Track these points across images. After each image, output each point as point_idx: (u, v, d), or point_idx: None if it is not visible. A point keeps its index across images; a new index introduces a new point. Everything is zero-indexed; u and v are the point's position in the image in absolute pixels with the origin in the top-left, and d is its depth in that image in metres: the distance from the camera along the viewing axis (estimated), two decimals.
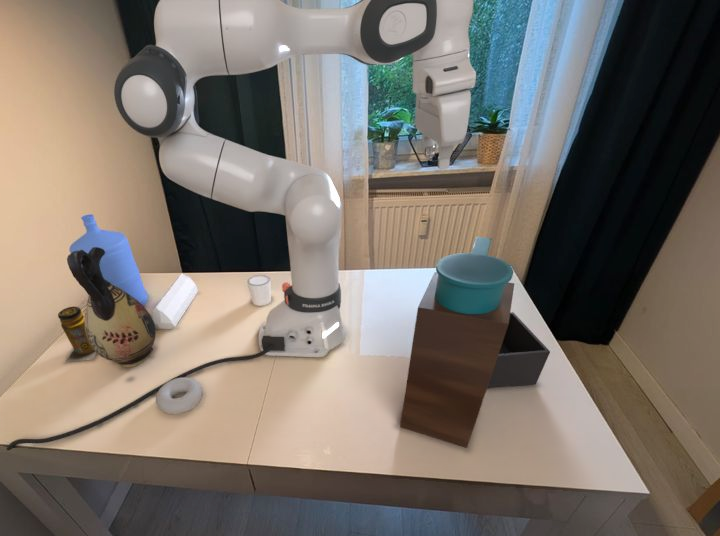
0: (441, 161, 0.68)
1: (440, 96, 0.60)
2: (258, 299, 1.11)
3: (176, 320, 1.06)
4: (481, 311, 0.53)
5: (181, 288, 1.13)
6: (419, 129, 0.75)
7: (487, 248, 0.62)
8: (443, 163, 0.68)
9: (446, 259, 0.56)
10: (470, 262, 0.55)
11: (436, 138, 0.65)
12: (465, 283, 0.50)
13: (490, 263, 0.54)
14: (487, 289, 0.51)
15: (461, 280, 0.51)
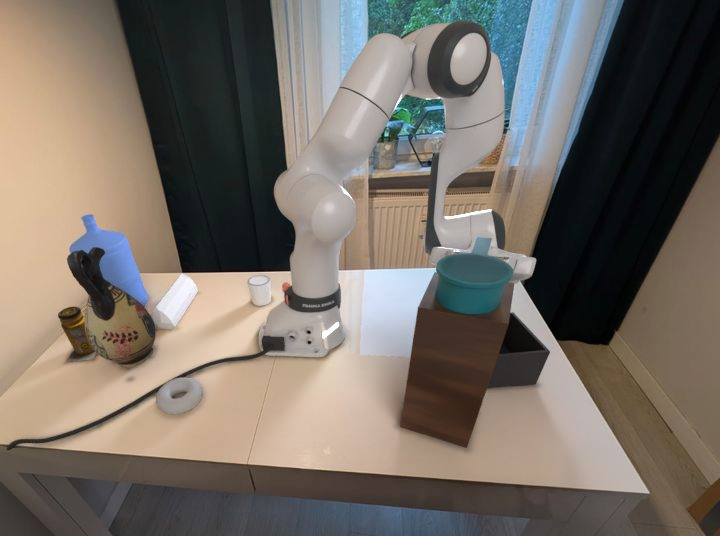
0: (511, 259, 0.74)
1: None
2: (258, 299, 1.11)
3: (176, 320, 1.06)
4: (481, 311, 0.53)
5: (181, 288, 1.13)
6: (452, 248, 0.81)
7: (487, 248, 0.62)
8: (510, 261, 0.73)
9: (446, 259, 0.56)
10: (470, 262, 0.55)
11: (514, 255, 0.77)
12: (465, 283, 0.50)
13: (490, 263, 0.54)
14: (487, 289, 0.51)
15: (461, 280, 0.51)
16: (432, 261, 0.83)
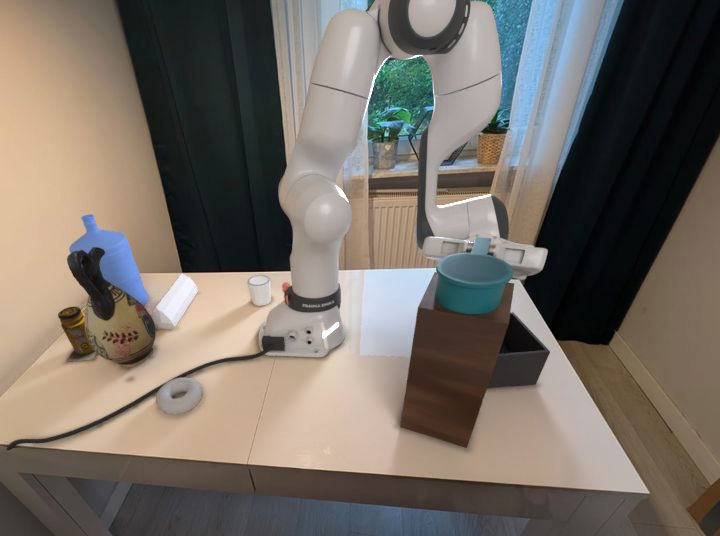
0: (498, 248, 0.63)
1: None
2: (258, 299, 1.11)
3: (176, 320, 1.06)
4: (481, 311, 0.53)
5: (181, 288, 1.13)
6: (447, 238, 0.69)
7: (487, 248, 0.62)
8: (497, 250, 0.62)
9: (446, 259, 0.56)
10: (470, 262, 0.55)
11: (521, 246, 0.65)
12: (465, 283, 0.50)
13: (490, 263, 0.54)
14: (487, 289, 0.51)
15: (461, 280, 0.51)
16: (425, 253, 0.71)
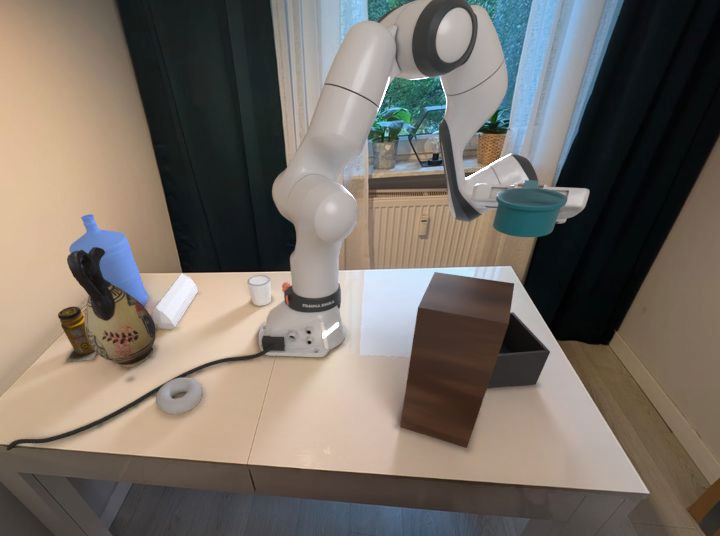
0: (545, 188, 0.70)
1: None
2: (258, 299, 1.11)
3: (176, 320, 1.06)
4: (538, 234, 0.61)
5: (181, 288, 1.13)
6: (496, 184, 0.77)
7: (536, 187, 0.69)
8: None
9: (504, 192, 0.64)
10: (526, 193, 0.63)
11: (565, 187, 0.72)
12: (526, 207, 0.58)
13: (544, 193, 0.62)
14: (545, 212, 0.58)
15: (522, 205, 0.59)
16: (474, 199, 0.79)
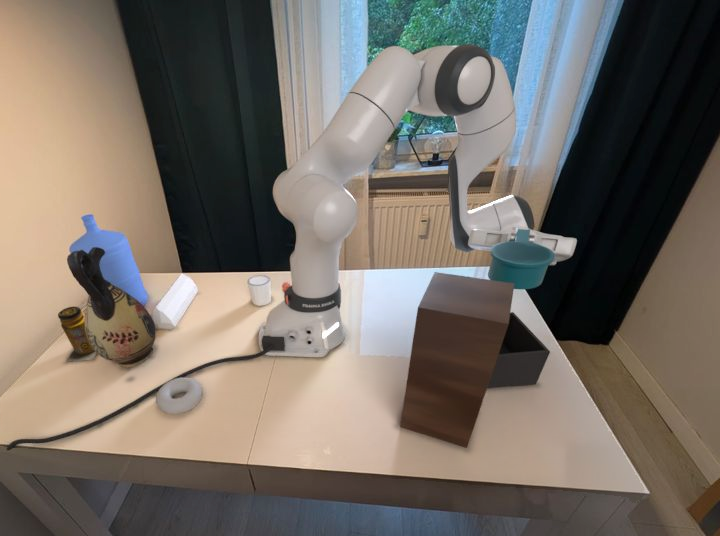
0: (536, 238, 0.77)
1: None
2: (258, 299, 1.11)
3: (176, 320, 1.06)
4: (529, 286, 0.67)
5: (181, 288, 1.13)
6: (491, 230, 0.83)
7: (528, 237, 0.75)
8: None
9: (498, 246, 0.70)
10: (518, 248, 0.69)
11: (554, 236, 0.78)
12: (517, 264, 0.64)
13: (534, 249, 0.68)
14: (534, 268, 0.65)
15: (514, 261, 0.65)
16: (471, 243, 0.85)
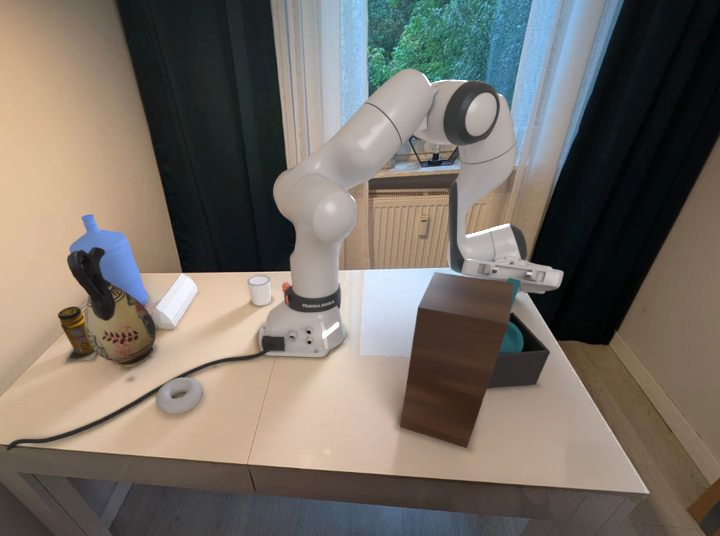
0: None
1: None
2: (258, 299, 1.11)
3: (176, 320, 1.06)
4: None
5: (181, 288, 1.13)
6: (483, 261, 0.88)
7: (513, 298, 0.82)
8: (533, 273, 0.80)
9: None
10: None
11: (542, 268, 0.83)
12: None
13: (509, 335, 0.79)
14: None
15: None
16: (464, 273, 0.89)
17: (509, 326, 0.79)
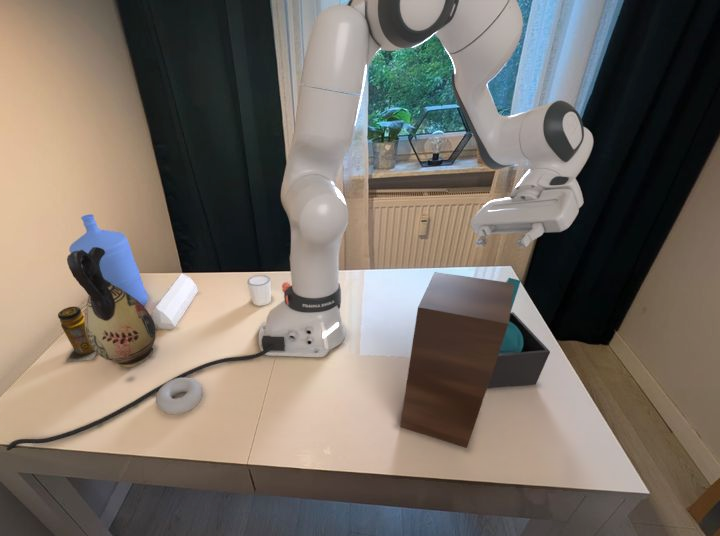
0: (527, 237, 0.74)
1: None
2: (258, 299, 1.11)
3: (176, 320, 1.06)
4: None
5: (181, 288, 1.13)
6: (484, 221, 0.83)
7: (513, 298, 0.82)
8: (527, 240, 0.74)
9: None
10: None
11: (539, 217, 0.73)
12: None
13: (509, 335, 0.79)
14: None
15: None
16: (476, 233, 0.88)
17: (509, 326, 0.79)
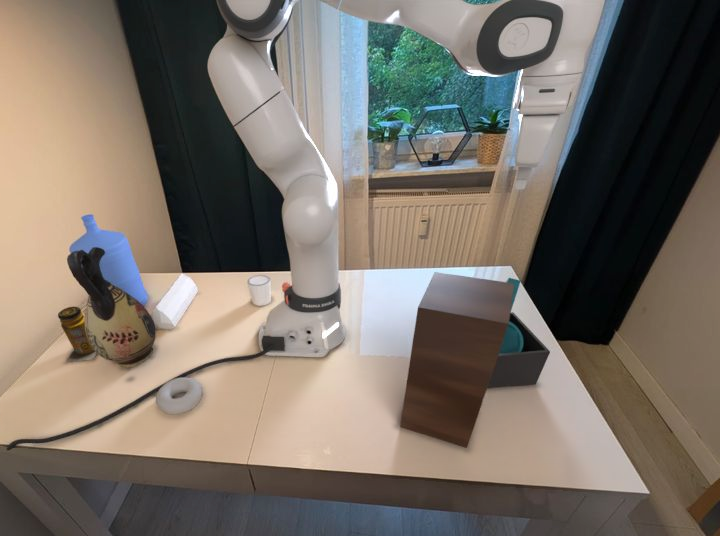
0: (517, 181, 0.68)
1: (525, 116, 0.60)
2: (258, 299, 1.11)
3: (176, 320, 1.06)
4: None
5: (181, 288, 1.13)
6: None
7: (513, 298, 0.82)
8: (519, 183, 0.68)
9: None
10: None
11: None
12: None
13: (509, 335, 0.79)
14: None
15: None
16: None
17: (509, 326, 0.79)
